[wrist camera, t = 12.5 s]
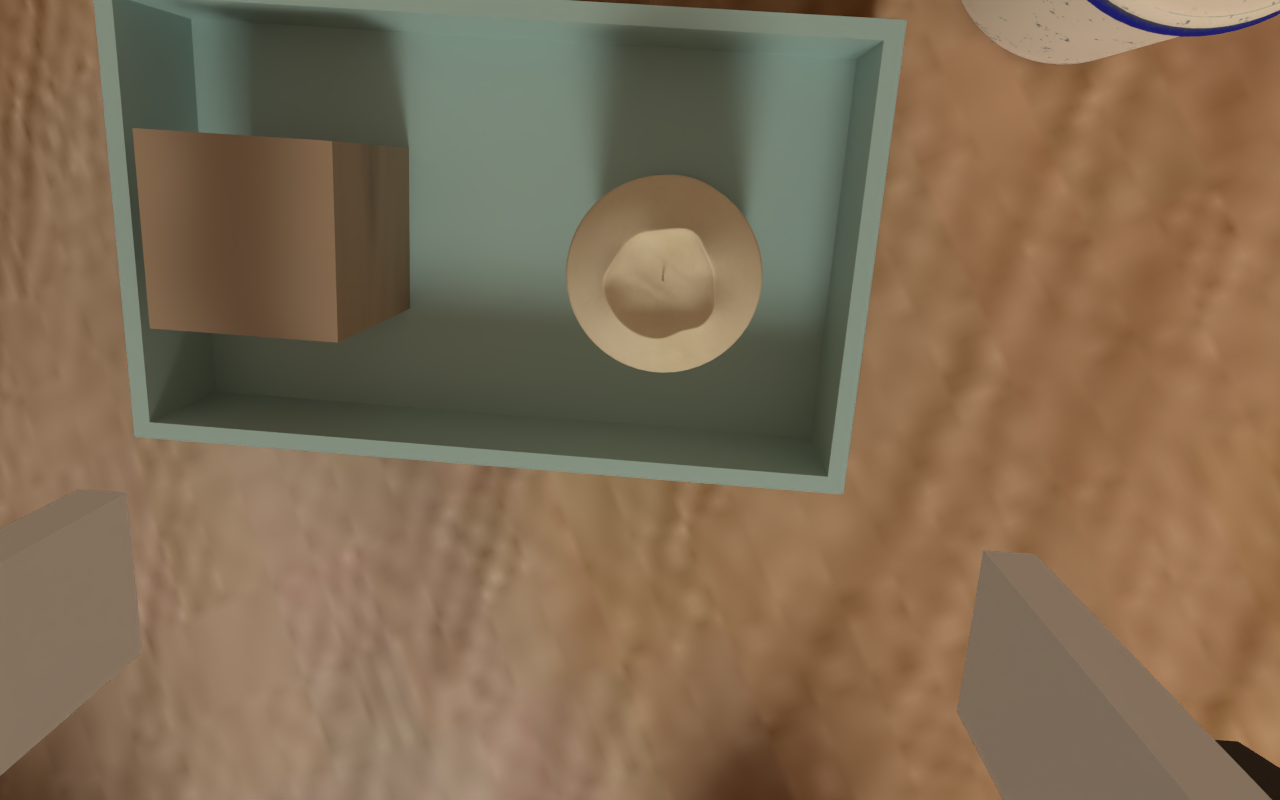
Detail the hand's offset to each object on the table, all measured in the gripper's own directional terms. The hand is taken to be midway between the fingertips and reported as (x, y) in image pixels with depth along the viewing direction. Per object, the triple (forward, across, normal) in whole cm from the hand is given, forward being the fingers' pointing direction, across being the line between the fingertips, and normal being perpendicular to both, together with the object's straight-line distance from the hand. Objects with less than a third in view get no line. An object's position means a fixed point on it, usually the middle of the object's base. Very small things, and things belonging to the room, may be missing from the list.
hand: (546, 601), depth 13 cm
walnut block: (+21, -12, +4) cm, 24 cm away
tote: (+21, -4, +4) cm, 22 cm away
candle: (+21, +2, +4) cm, 21 cm away
